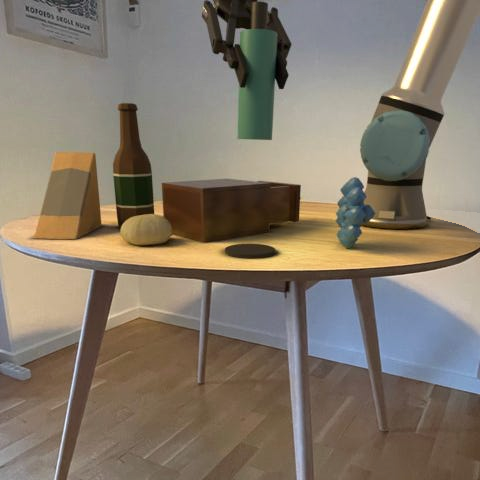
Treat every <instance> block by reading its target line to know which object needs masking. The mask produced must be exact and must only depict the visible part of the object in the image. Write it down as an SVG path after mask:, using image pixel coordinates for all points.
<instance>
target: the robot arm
mask: <svg viewBox="0 0 480 480" xmlns="http://www.w3.org/2000/svg"><path fill="white" fill-rule="evenodd" d="M212 2H213V3H212ZM212 2H211V1H210V0H203V6H202V11H201V12H202V13H201V18H202V19H203V21H204V23H205V24H206V28H207V33H208V38H209V42H210V46H211V52H212V53H213V55H219V54H220V53H221V54H223V56H222V61H223V62H226V63H227V65H228V67H229V69H231V70H234V72H235V75H236V78H237V83H238V86H239V85H240V88H245V85H246V82H247V78H248V75H249V71H248V68H247V65H246V62H245V59H244V57H243V54H242V51H241V48H240V43H235V39H236V31H237V30H238V29H239V30H240V29H243V30H247V29H251V8H252V3H253V2H259V1H258V0H212ZM479 15H480V0H427V1H426V4H425V6H424V8H423V10H422V14H421V16H420V19H419V21H418V24H417V27H416V29H415V31H414V33H413V37H412V39H411V41H410V45H409V46H408V49H407V52H406V55H405V57H404V60H403V62H402V65H401V67H400V71H399V73H398V75H397V77H396V80H395V83H394V85H393V86H392V87H391V88H389V89H388V90H387V91H384V92H383V93H382V94H381V96H380V98H379V101H378V103H377V106H376V108H375V111H374V112H373V113H374V114H373V116H372V119H371V121H370V123H369V124H368V125H367V127H366V129H365V130H364V131H363V134H362V136H361V140H360V147H359V152H360V157H361V161H362V163H363V165H364V167H365V168H366V170H367V180H366V186H365V190H364V191H363V192H364V193H365V195H366V196H367V197H366V199H365V200H364V202H363V203H364V204H365V205H370V206H371V207H372V209H373V210H374V212H375V215H374V217H373V218H372V219H371V220H370V221H369V222H366V223H363V224H362V225H361V226H366V227H371V228H377V229H387V230H388V229H390V230H391V229H392V230H411V229H419V228H424V227H425V226H426V225H427V221H431V220H432V217H431V216H428V215H427V209H426V204H425V199H424V193H423V184H424V176H425V169H426V163H427V158H428V157H429V153H430V147H431V145H432V144H433V142H434V139H435V137H436V135H437V132H438V130H439V128H440V125H441V124H442V121H443V119H444V116H445V111H444V107H443V104H442V99H443V97H444V94H445V92H446V90H447V88H448V85H449V83H450V81H451V79H452V77H453V74H454V72H455V69H456V67H457V65H458V63H459V60H460V58H461V55H462V54H463V51H464V48H465V46H466V45H467V42H468V40H469V37H470V35H471V33H472V30H473V28H474V26H475V24H476V21H477V19H478V17H479ZM219 18H220V19H221V20H223V21H224V22H225V23H226V30H225V40H224V39H223V35H222V29H221V25H220V21H219ZM283 25H284V24H283V23H282V22H281V19H280V17H279V10H278V8H277V7H275V6H274V7H273V6H272V7H271V8H270V10H268V18H267V30H272V31H275V32H277V51H276V71H275V83H276V84H277V87H278V89H279V90H284V89H285V85H286V83H287V81H288V78H289V77H290V75H289V71H288V69H287V67H288V60H287V58H288V57H289V53H290V51H291V47H292V45H293V44H292V42H291V40H290V38H289V35H288V34H287V31H286V30H285V27H284V26H283ZM236 29H237V30H236Z"/></svg>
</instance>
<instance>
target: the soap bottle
mask: <svg viewBox="0 0 480 480" xmlns="http://www.w3.org/2000/svg"><path fill="white" fill-rule="evenodd" d="M268 11H269V3H268V2H265V1H258V2H253V3H252V8H251V29H242V30H241V31H240V32H239V45H240V48H241V51H242V54H243V57H244V59H245V62H246V65H247V68H248V71H249V75H248V78H247V82H246V85H245V88H240V85H239V84H238V98H237V99H238V100H237V101H238V102H237V104H238V105H237V137H236V139H237V140H255V141H256V140H258V141H260V140H261V141H272V140H273V127H274V109H275V91H276V90H275V88H276V79H275V71H276V51H277V32H275V31H272V30H267V18H268Z"/></svg>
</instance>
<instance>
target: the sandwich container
mask: <svg viewBox="0 0 480 480" xmlns="http://www.w3.org/2000/svg"><path fill="white" fill-rule="evenodd" d="M96 157H97V155H96V153H95V152H84V151H83V152H82V151H79V152H78V151H55V153H54V156H53V161H52V166H51V170H50V175H49V178H48V183H47V187H46V190H45V195H44V198H43V203H42V207H41V210H40V215H39V217H38V221H37V225H36V228H35V233H34V236H33V239H40V240H41V239H47V240H48V239H49V240H77V239H79V238H81V237H83V236H85V235H87V234H89V233H91V232H93V231H94V230H96V229H98V228H100V227H101V226H102V214H101V203H100V202H101V201H100V191H99V180H98V170H97V169H98V168H97V167H98V166H97V159H96Z"/></svg>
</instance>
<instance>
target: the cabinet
mask: <svg viewBox="0 0 480 480" xmlns="http://www.w3.org/2000/svg"><path fill="white" fill-rule="evenodd" d="M161 195H162V196H161V197H162V213H163V215H162V217H164V218H165V219H166V220H168V222H169V223H170V224H171V227H172V235H175V236H178V237H183V238H187V239H189V240H193V241H196V242H197V241H198V242H201V243H209V242H215V241H216V242H217V241H222V240H229V239H234V238H240V237H245V236H251V235H252V236H253V235H258V234H263V233H270V224H269V222H270V183H265V182H257V181H254V180H246V179H245V180H244V179H237V178H236V179H235V178H215V179H199V180H183V181H169V182H168V181H166V182H161Z"/></svg>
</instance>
